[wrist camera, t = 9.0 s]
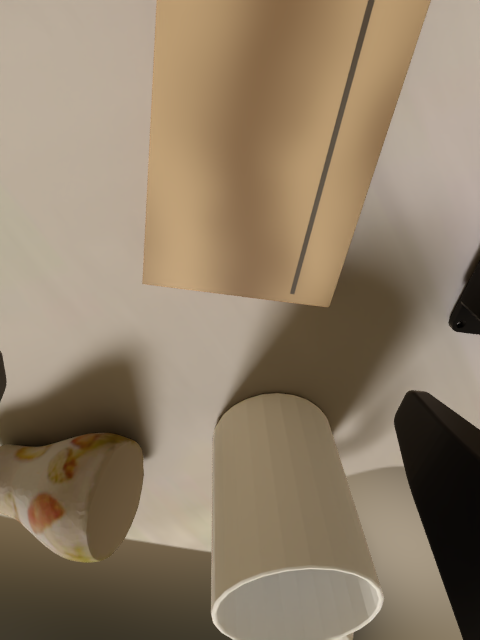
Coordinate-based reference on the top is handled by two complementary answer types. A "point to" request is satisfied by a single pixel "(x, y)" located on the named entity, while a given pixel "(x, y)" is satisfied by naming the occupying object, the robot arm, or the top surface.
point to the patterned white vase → (74, 492)
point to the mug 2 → (285, 528)
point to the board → (268, 139)
